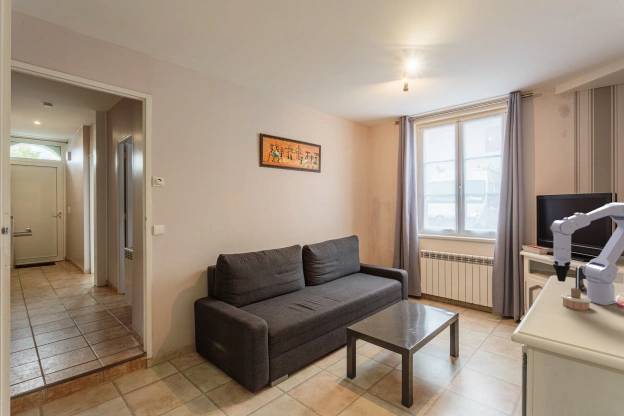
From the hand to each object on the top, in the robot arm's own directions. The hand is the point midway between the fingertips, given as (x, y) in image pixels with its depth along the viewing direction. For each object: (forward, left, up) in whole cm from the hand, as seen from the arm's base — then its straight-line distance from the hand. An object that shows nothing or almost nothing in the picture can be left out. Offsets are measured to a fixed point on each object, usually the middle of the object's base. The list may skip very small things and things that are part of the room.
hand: (561, 279), depth 127 cm
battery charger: (-27, -5, -10) cm, 29 cm away
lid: (+2, +6, -6) cm, 9 cm away
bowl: (+2, +6, -9) cm, 11 cm away
